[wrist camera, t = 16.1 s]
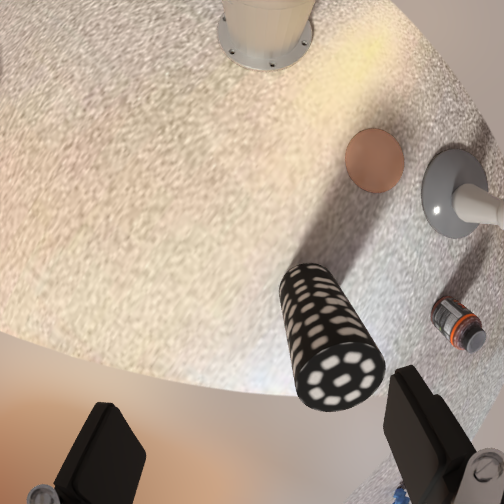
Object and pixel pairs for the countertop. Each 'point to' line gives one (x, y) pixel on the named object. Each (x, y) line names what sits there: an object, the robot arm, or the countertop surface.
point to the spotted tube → (327, 342)
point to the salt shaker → (478, 205)
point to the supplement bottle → (458, 324)
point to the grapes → (401, 497)
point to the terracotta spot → (374, 160)
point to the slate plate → (450, 190)
